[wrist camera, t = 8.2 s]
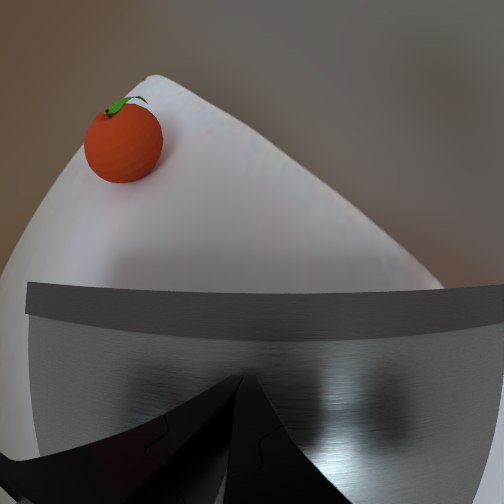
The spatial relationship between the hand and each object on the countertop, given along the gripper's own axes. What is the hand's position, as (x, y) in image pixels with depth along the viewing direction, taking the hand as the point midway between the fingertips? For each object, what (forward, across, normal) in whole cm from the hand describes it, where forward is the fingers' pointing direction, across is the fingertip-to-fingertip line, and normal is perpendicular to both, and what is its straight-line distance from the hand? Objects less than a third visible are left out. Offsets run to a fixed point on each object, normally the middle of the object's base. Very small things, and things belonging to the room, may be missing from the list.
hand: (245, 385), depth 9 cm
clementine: (+18, -12, +8) cm, 23 cm away
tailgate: (-3, 0, -9) cm, 9 cm away
